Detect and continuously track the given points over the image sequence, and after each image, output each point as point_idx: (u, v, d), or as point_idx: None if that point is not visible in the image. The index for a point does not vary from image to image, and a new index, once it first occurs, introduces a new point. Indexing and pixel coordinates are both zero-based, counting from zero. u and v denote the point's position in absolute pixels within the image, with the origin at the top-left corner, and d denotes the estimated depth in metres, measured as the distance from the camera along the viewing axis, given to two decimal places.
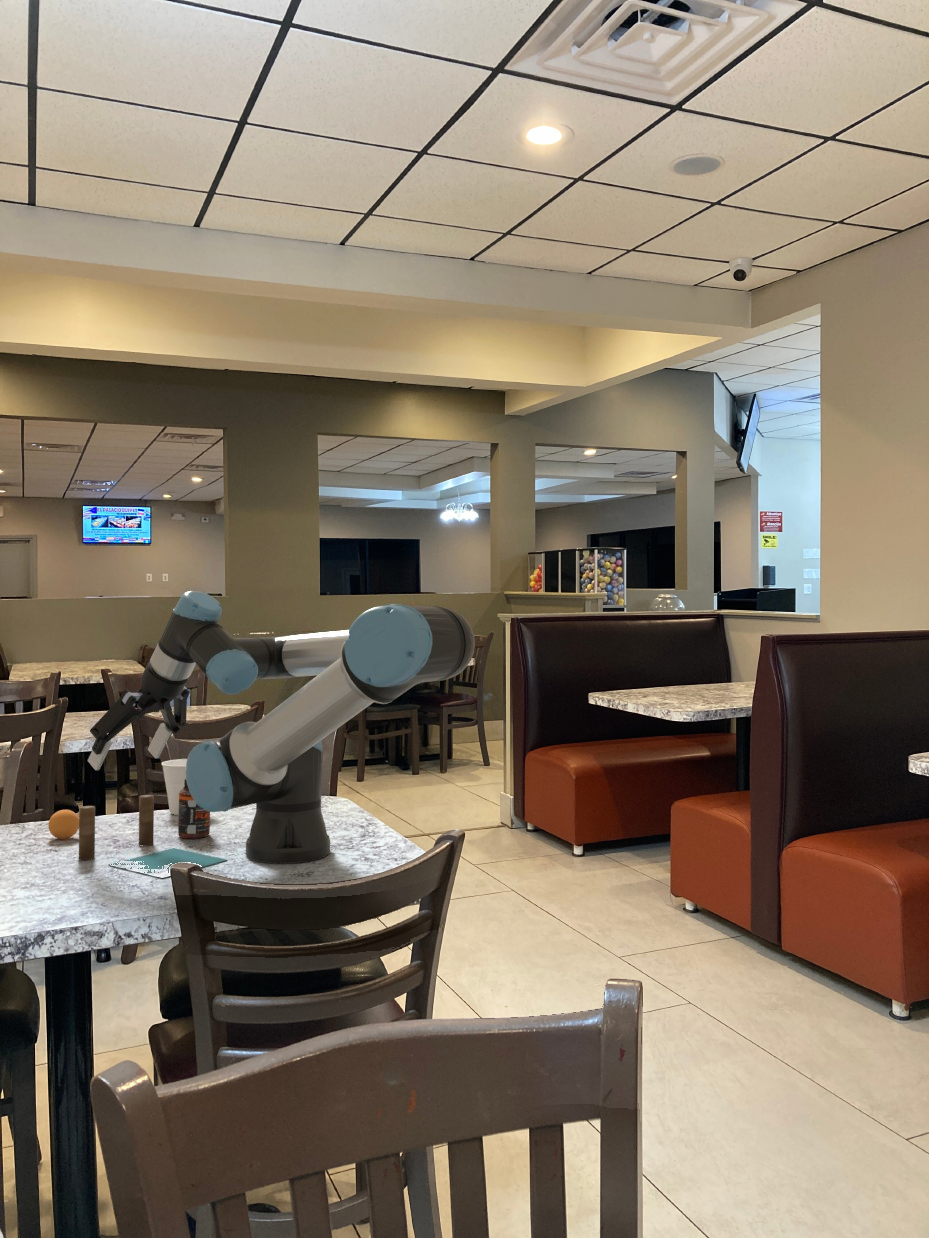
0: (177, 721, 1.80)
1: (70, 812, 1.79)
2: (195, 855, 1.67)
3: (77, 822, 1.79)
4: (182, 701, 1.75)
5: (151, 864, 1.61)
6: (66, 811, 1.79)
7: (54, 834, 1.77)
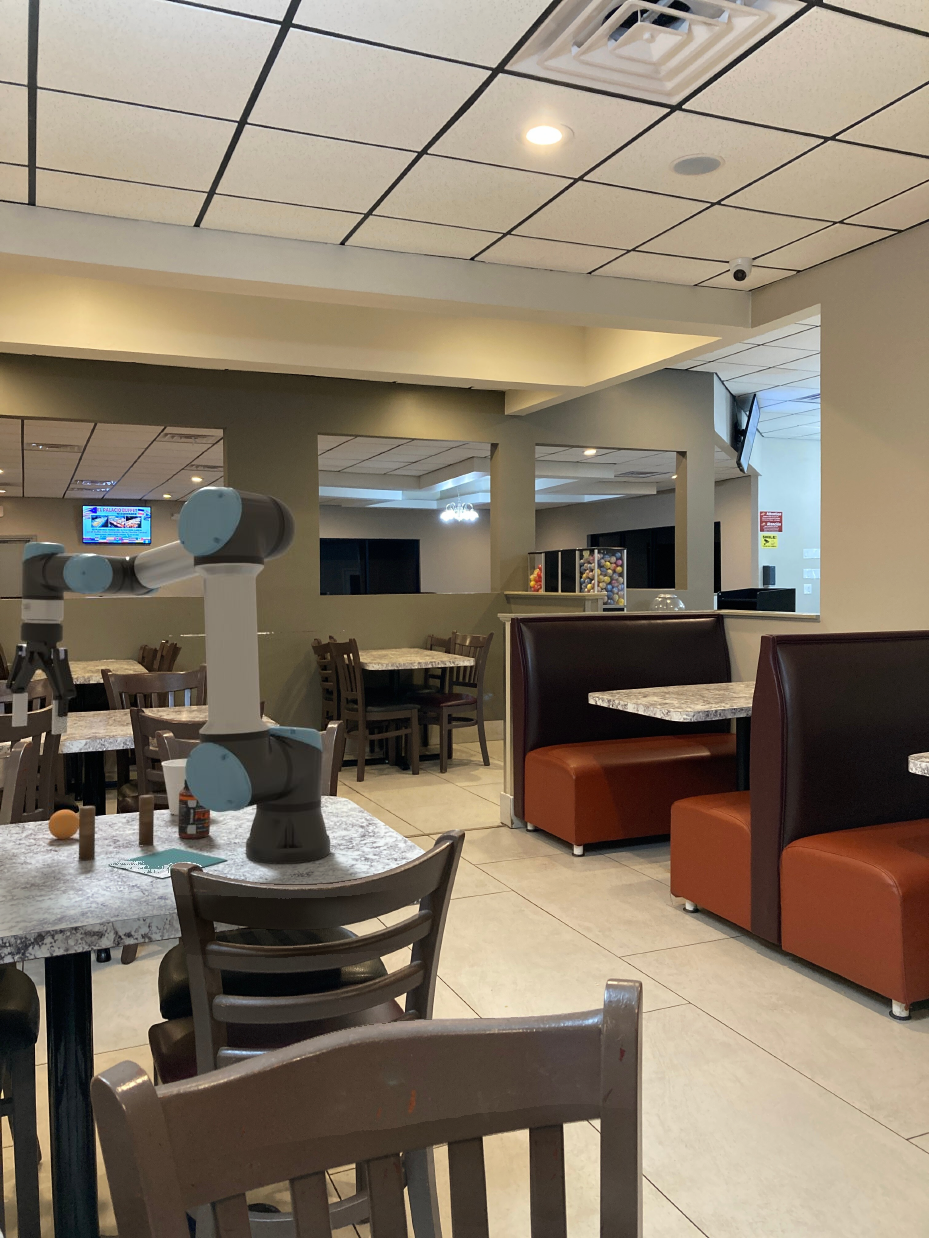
0: None
1: (70, 812, 1.79)
2: (195, 855, 1.67)
3: (77, 822, 1.79)
4: None
5: (151, 864, 1.61)
6: (66, 811, 1.79)
7: (54, 834, 1.77)
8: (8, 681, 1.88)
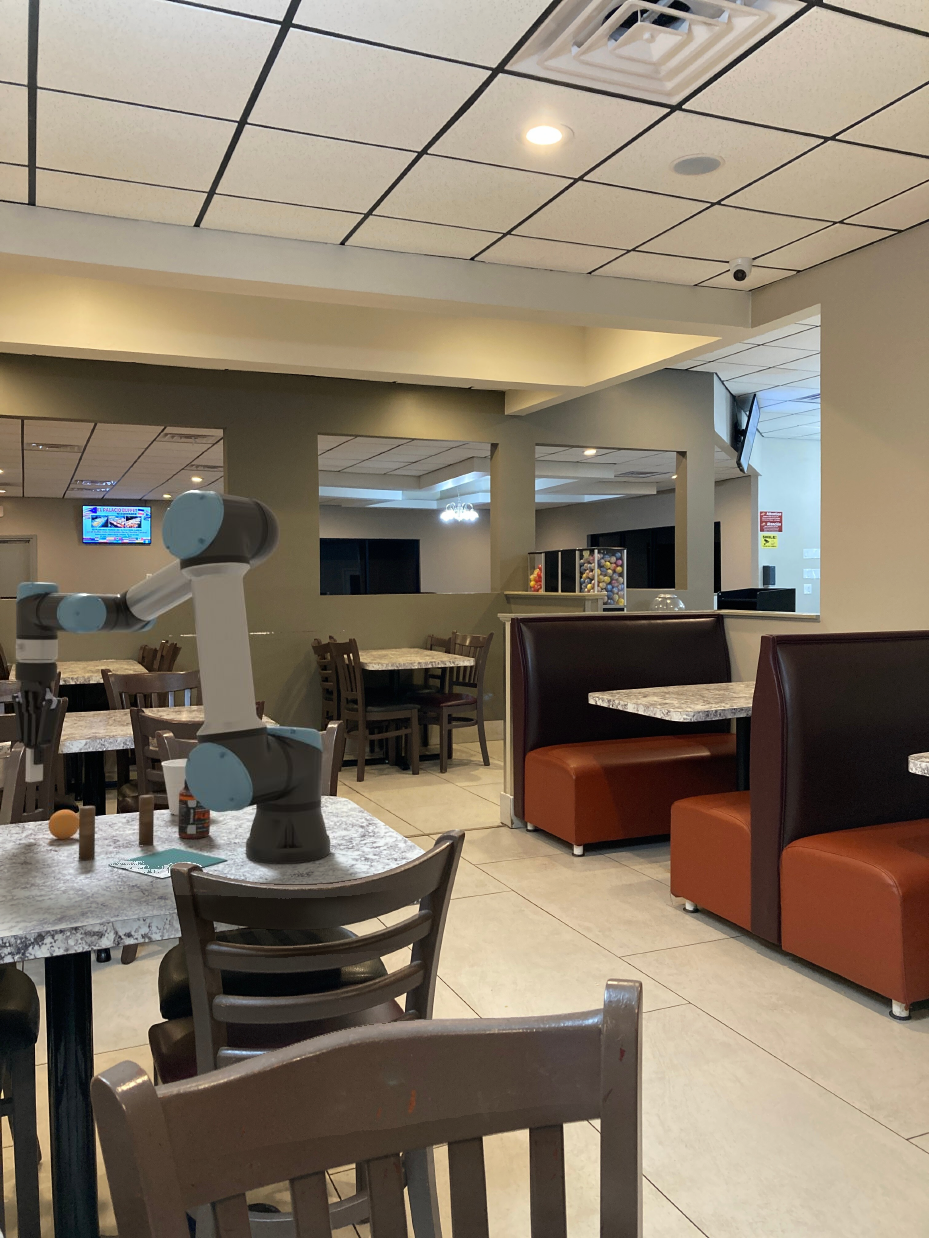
0: (30, 738, 1.86)
1: (70, 812, 1.79)
2: (195, 855, 1.67)
3: (77, 822, 1.79)
4: None
5: (151, 864, 1.61)
6: (66, 811, 1.79)
7: (54, 834, 1.77)
8: (19, 734, 1.85)
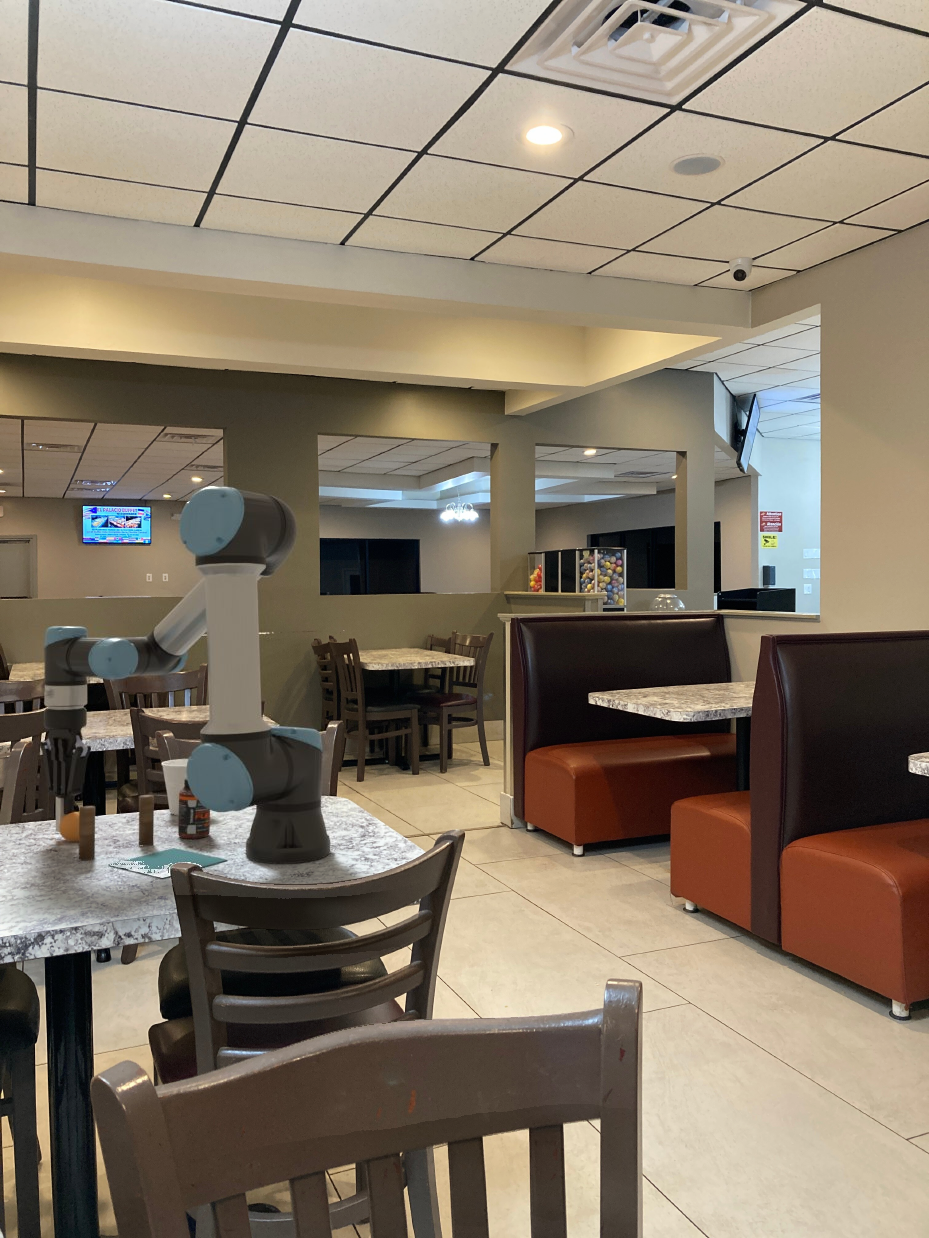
0: (60, 786, 1.81)
1: None
2: (195, 855, 1.67)
3: None
4: None
5: (151, 864, 1.61)
6: None
7: None
8: (48, 783, 1.80)
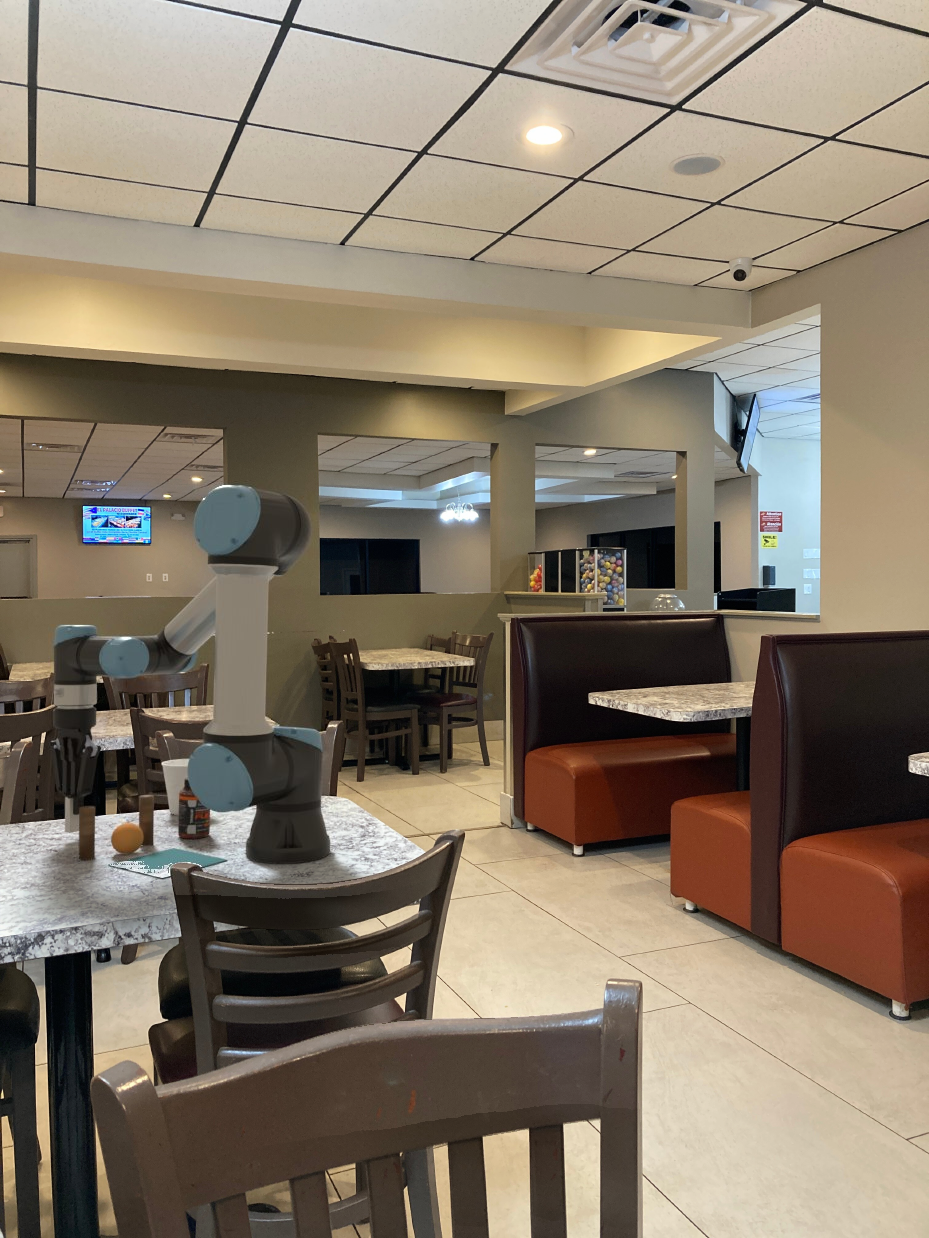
0: (69, 786, 1.79)
1: (135, 826, 1.68)
2: (195, 855, 1.67)
3: (141, 837, 1.68)
4: None
5: (151, 864, 1.61)
6: (131, 825, 1.68)
7: (117, 849, 1.67)
8: (57, 783, 1.78)
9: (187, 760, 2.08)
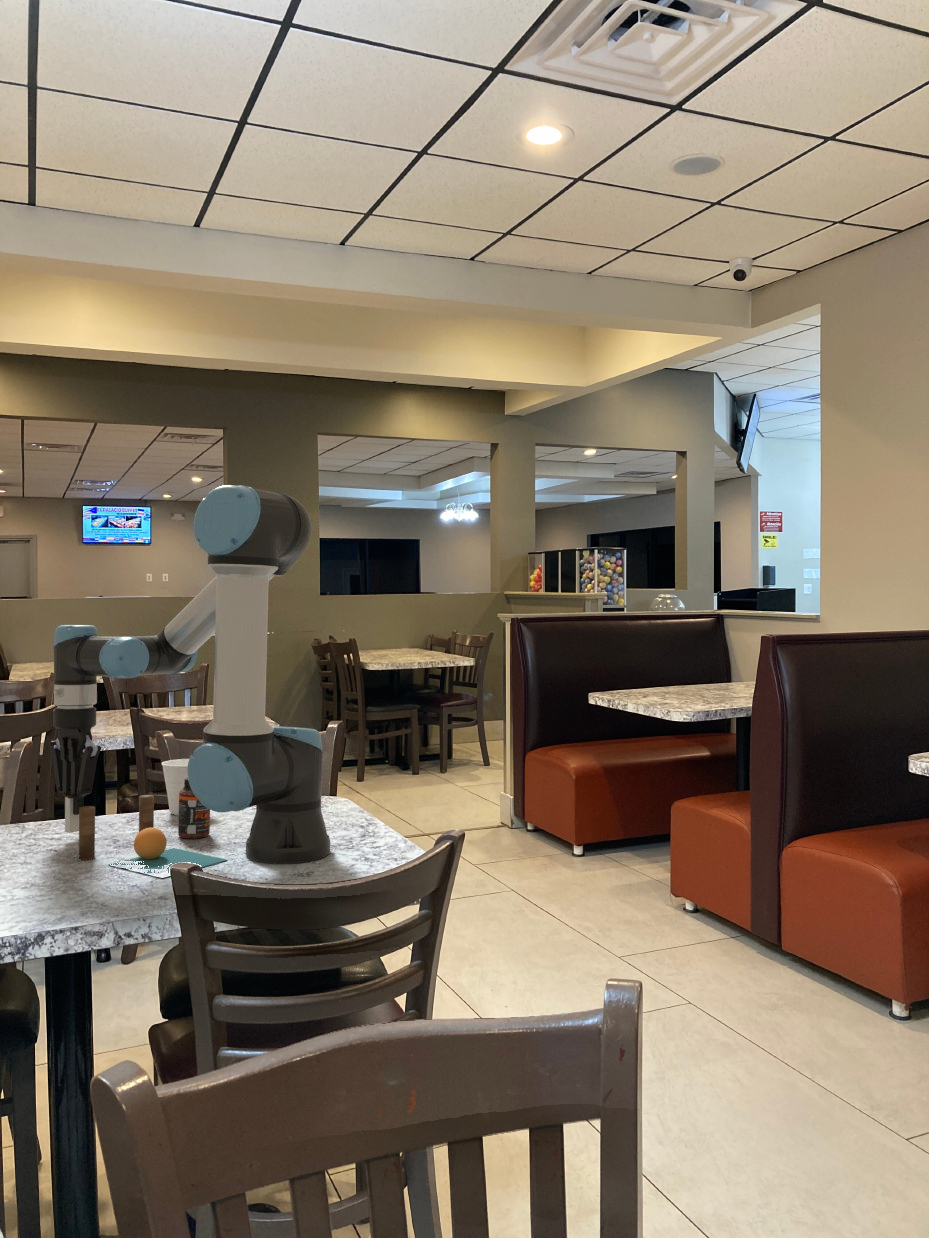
0: (69, 786, 1.79)
1: None
2: (195, 855, 1.67)
3: None
4: None
5: (151, 864, 1.61)
6: (153, 858, 1.65)
7: (134, 840, 1.64)
8: (57, 783, 1.78)
9: (187, 760, 2.08)
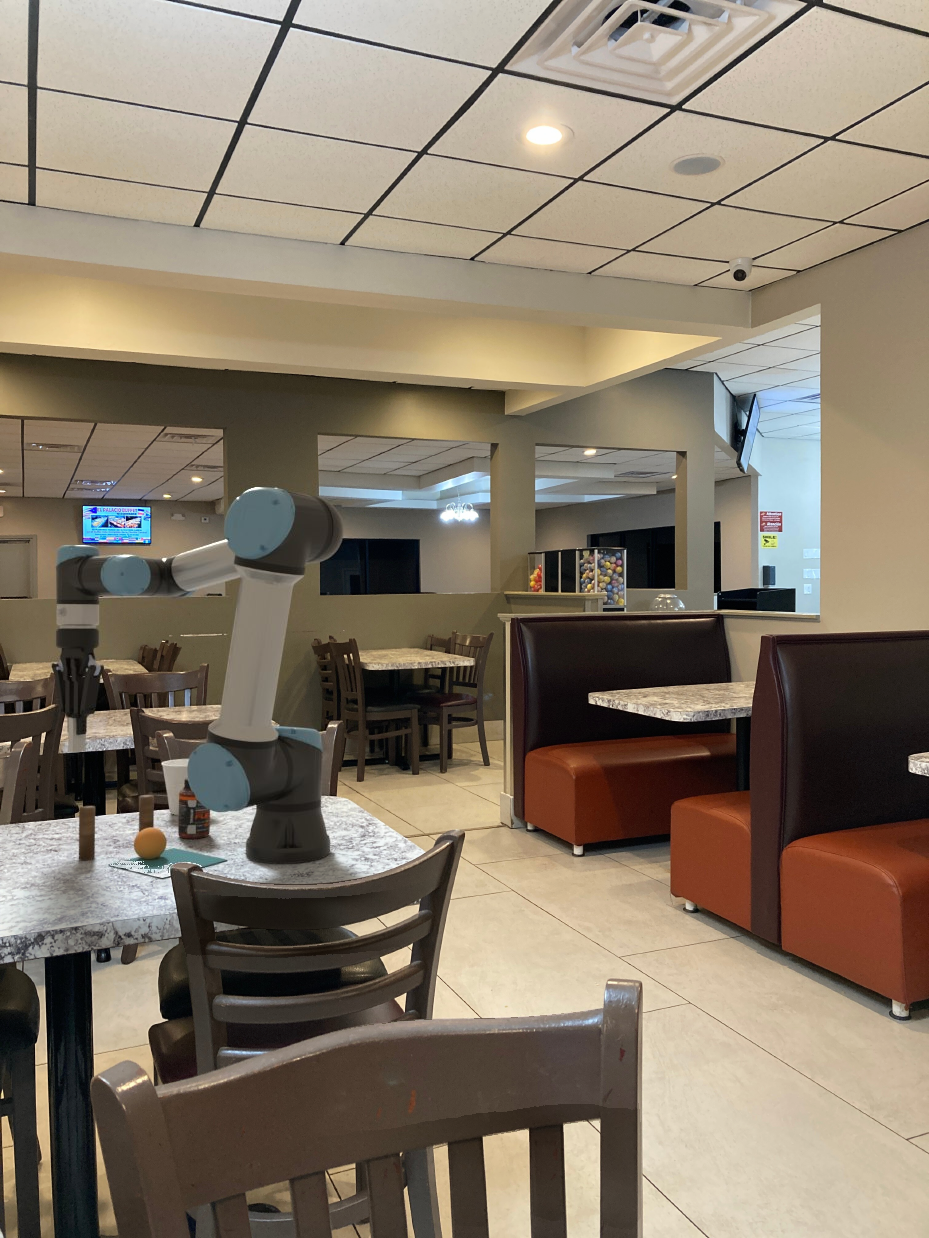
0: (72, 708, 1.79)
1: None
2: (195, 855, 1.67)
3: None
4: None
5: (151, 864, 1.61)
6: (153, 858, 1.65)
7: (134, 840, 1.64)
8: (60, 704, 1.79)
9: (187, 760, 2.08)
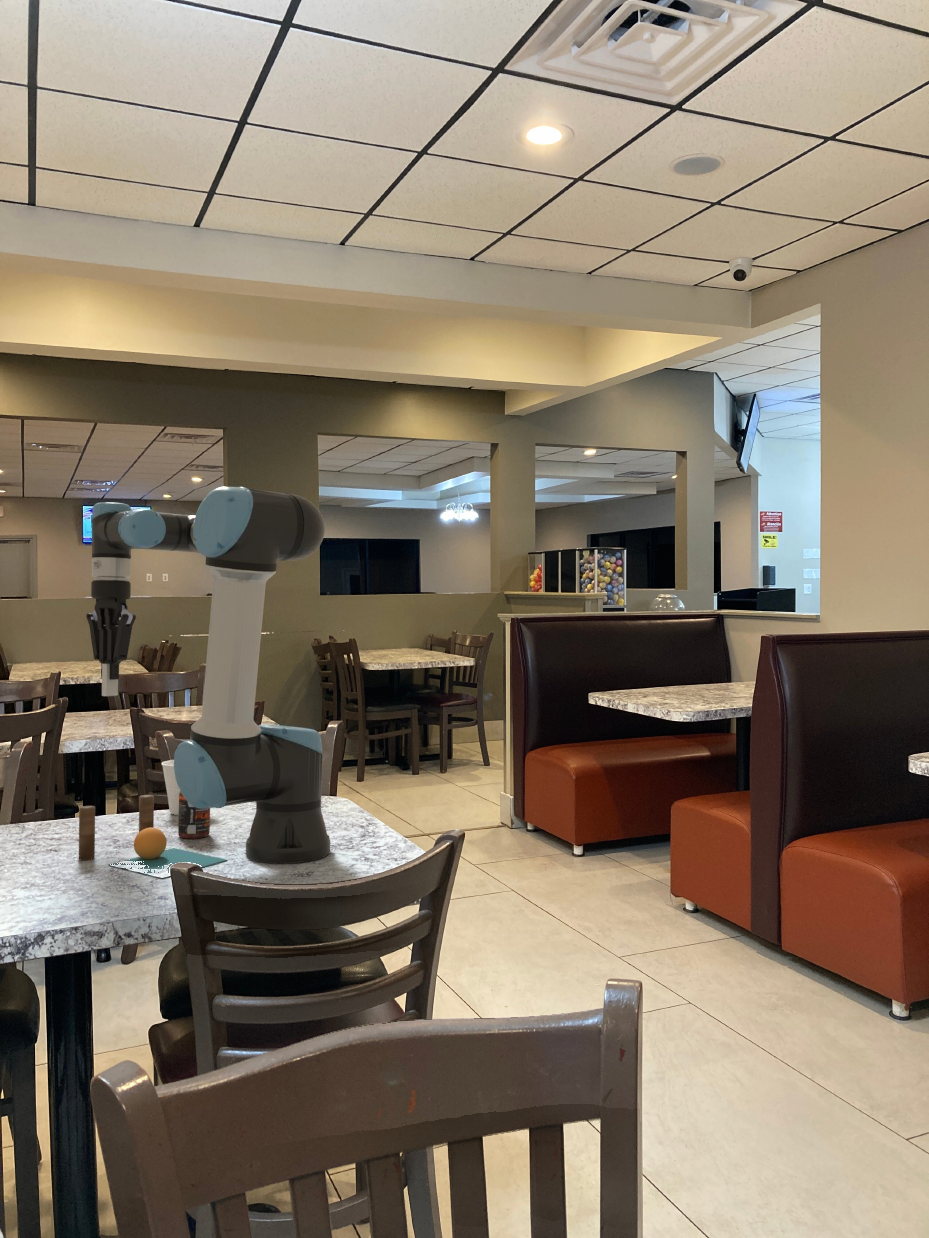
0: (105, 655, 1.92)
1: None
2: (195, 855, 1.67)
3: None
4: None
5: (151, 864, 1.61)
6: (153, 858, 1.65)
7: (134, 840, 1.64)
8: (94, 651, 1.91)
9: None
